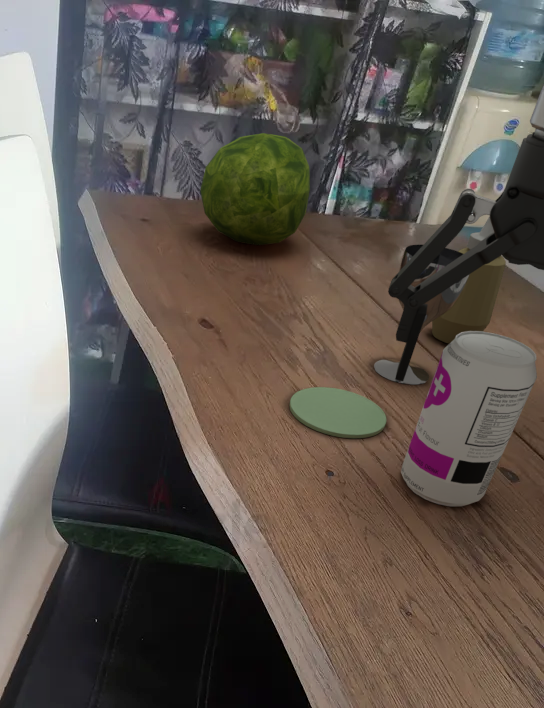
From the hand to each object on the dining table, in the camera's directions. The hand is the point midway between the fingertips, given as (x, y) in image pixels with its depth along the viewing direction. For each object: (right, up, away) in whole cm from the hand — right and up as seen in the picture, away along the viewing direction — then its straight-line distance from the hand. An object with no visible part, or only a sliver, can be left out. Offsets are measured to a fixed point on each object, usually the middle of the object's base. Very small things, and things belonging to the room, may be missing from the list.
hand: (474, 393), depth 68 cm
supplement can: (-1, -8, +6) cm, 11 cm away
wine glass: (+2, +7, +28) cm, 29 cm away
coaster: (-9, 0, +17) cm, 19 cm away
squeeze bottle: (+13, +14, +39) cm, 43 cm away
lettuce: (-13, +40, +69) cm, 80 cm away
